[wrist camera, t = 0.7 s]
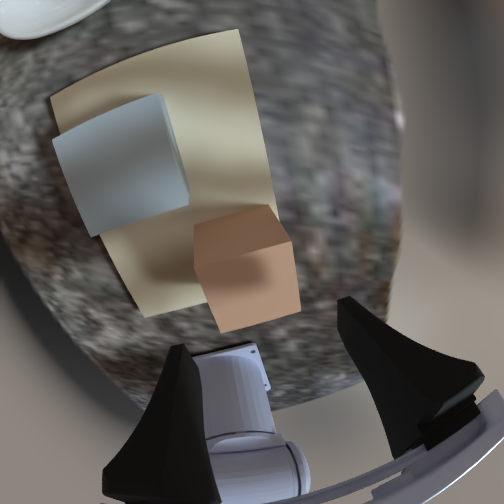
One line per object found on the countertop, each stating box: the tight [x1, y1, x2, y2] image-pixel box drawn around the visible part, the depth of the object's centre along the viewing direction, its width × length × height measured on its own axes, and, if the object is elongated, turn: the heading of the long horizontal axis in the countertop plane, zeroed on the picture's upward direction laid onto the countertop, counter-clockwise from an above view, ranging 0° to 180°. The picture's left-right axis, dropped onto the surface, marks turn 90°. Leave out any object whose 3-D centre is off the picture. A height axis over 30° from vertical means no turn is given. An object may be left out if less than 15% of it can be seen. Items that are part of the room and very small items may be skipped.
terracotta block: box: [194, 205, 301, 333], centre depth 17 cm, size 5×5×5 cm
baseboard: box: [50, 29, 279, 317], centre depth 16 cm, size 18×12×4 cm, turn 12°
